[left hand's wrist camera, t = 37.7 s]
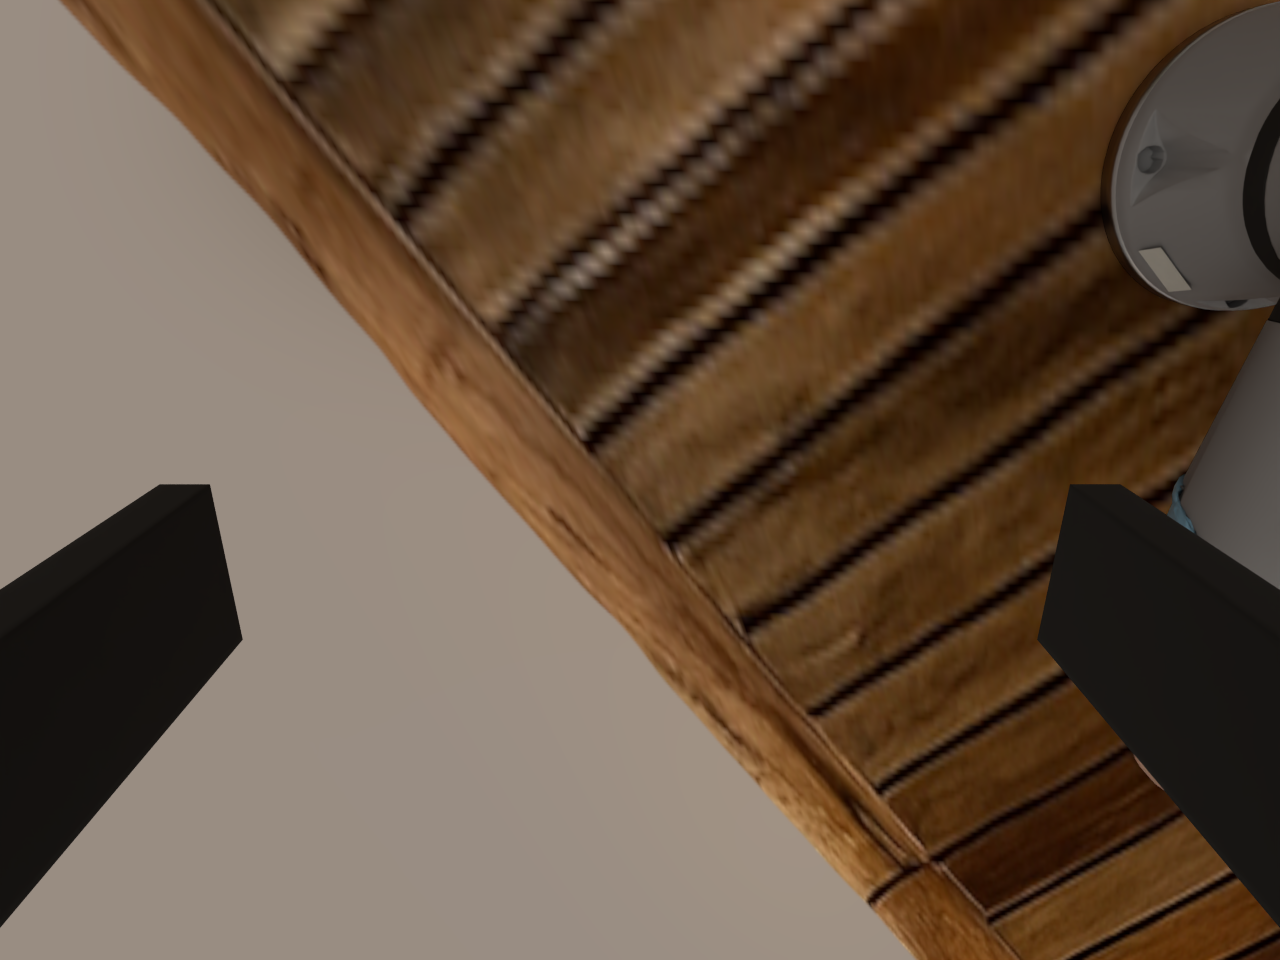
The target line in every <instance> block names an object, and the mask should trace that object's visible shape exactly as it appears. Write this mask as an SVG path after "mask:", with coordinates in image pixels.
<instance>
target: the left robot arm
mask: <svg viewBox="0 0 1280 960" xmlns="http://www.w3.org/2000/svg"><path fill="white" fill-rule="evenodd" d="M1101 209H1102V217H1103V222H1104V227H1105V231H1106V234H1107V237H1108V240H1109V243H1110V245H1111V247H1112V249H1113V252H1114V254H1115V255H1116V257H1117V259H1118V260H1119V262H1120V263H1121V265H1122V266H1123V267H1124V269H1125V270H1126V271H1127V272H1128V273H1129V274H1130V275H1131V276H1132V277H1133V278H1134V279H1135V280H1136V281H1137V282H1138V283H1139V284H1140V285H1142V286H1143V287H1144V288H1146V289H1147V290H1149V291H1151V292H1152V293H1154V294H1156V295H1158V296H1160V297H1162V298H1165V299H1167V300H1170V301H1173V302H1176V303H1180V304H1184V305H1188V306H1192V307H1197V308H1202V309H1209V310H1248V309H1256V308H1261V307H1267V306H1271V305H1275V304H1276V306H1275V307H1274V309H1273V311H1272V313H1271V315H1270V317H1269V318H1268V320H1269V321H1268V320H1267V321H1266V323H1265V325H1264V327H1263V329H1262V330H1261V332H1260V334H1259V336H1258V338H1257V340H1256V342H1255V344H1254V346H1253V347H1252V349H1251V351H1250V353H1249V355H1248V357H1247V359H1246V361H1245V363H1244V365H1243V366H1242V368H1241V370H1240V372H1239V374H1238V376H1237V378H1236V380H1235V382H1234V383H1233V385H1232V387H1231V389H1230V391H1229V393H1228V395H1227V397H1226V399H1225V400H1224V402H1223V404H1222V406H1221V408H1220V410H1219V412H1218V414H1217V416H1216V418H1215V419H1214V421H1213V423H1212V425H1211V427H1210V429H1209V431H1208V433H1207V435H1206V436H1205V438H1204V440H1203V442H1202V444H1201V446H1200V448H1199V450H1198V452H1197V453H1196V455H1195V457H1194V459H1193V461H1192V463H1191V465H1190V467H1189V469H1188V470H1187V472H1186V474H1184V475H1182V476H1180V477H1179V479H1178V481H1177V483H1176V484H1175V486H1174V489H1173V493H1172V505H1171V507H1170V510H1169V512H1168V514H1167V515H1166V514H1164V513H1163V512H1161V511H1160V510H1158V509H1157V508H1155V507H1154V506H1152V505H1151V504H1149V503H1148V502H1146V501H1145V500H1143V499H1142V498H1140V497H1139V496H1137V495H1136V494H1134V493H1133V492H1131V491H1129V490H1128V489H1126V488H1125V487H1123V486H1122V485H1120V484H1070V488H1069V492H1068V497H1067V502H1066V507H1065V511H1064V516H1063V521H1062V525H1061V530H1060V535H1059V540H1058V544H1057V549H1056V554H1055V559H1054V563H1053V568H1052V573H1051V578H1050V582H1049V587H1048V592H1047V596H1046V601H1045V606H1044V611H1043V615H1042V620H1041V625H1040V630H1039V634H1038V639H1037V640H1038V641H1039V642H1040V643H1041V645H1042V646H1043V647H1044V648H1045V649H1046V650H1047V652H1048V653H1049V654H1050V655H1051V656H1052V658H1053V659H1054V660H1055V661H1056V662H1057V664H1058V665H1059V666H1060V667H1061V668H1062V669H1063V671H1064V672H1065V673H1066V674H1067V675H1068V677H1069V678H1070V679H1071V680H1072V681H1073V683H1074V684H1075V685H1076V686H1077V687H1078V688H1079V690H1080V691H1081V692H1082V693H1083V694H1084V696H1085V697H1086V698H1087V699H1088V700H1089V702H1090V703H1091V704H1092V705H1093V706H1094V707H1095V709H1096V710H1097V711H1098V712H1099V713H1100V715H1101V716H1102V717H1103V718H1104V719H1105V721H1106V722H1107V723H1108V724H1109V725H1110V726H1111V728H1112V729H1113V730H1114V731H1115V732H1116V734H1117V735H1118V736H1119V737H1120V738H1121V740H1122V741H1123V742H1124V743H1125V744H1126V745H1127V747H1128V748H1129V749H1130V750H1131V751H1132V753H1133V754H1134V755H1135V756H1136V757H1137V759H1138V760H1139V761H1140V762H1141V763H1142V764H1143V766H1144V767H1145V768H1146V769H1147V770H1148V772H1149V773H1150V774H1151V775H1152V776H1153V778H1154V779H1155V780H1156V781H1157V782H1158V783H1159V785H1160V786H1161V787H1162V788H1163V789H1164V791H1165V792H1166V793H1167V794H1168V795H1169V797H1170V798H1171V799H1172V800H1173V801H1174V803H1175V804H1176V805H1177V806H1178V807H1179V808H1180V810H1181V811H1182V812H1183V813H1184V814H1185V816H1186V817H1187V818H1188V819H1189V820H1190V822H1191V823H1192V824H1193V825H1194V826H1195V827H1196V829H1197V830H1198V831H1199V832H1200V833H1201V835H1202V836H1203V837H1204V838H1205V839H1206V841H1207V842H1208V843H1209V844H1210V845H1211V846H1212V848H1213V849H1214V850H1215V851H1216V852H1217V854H1218V855H1219V856H1220V857H1221V858H1222V860H1223V861H1224V862H1225V863H1226V864H1227V865H1228V867H1229V868H1230V869H1231V870H1232V871H1233V873H1234V874H1235V875H1236V876H1237V877H1238V879H1239V880H1240V881H1241V882H1242V883H1243V884H1244V886H1245V887H1246V888H1247V889H1248V890H1249V892H1250V893H1251V894H1252V895H1253V896H1254V898H1255V899H1256V900H1257V901H1258V902H1259V903H1260V905H1261V906H1262V907H1263V908H1264V909H1265V911H1266V912H1267V913H1268V914H1269V915H1270V917H1271V918H1272V919H1273V920H1274V921H1275V922H1276V924H1277V925H1278V926H1279V927H1280V1H1279V2H1275V3H1271V4H1266V5H1262V6H1258V7H1254V8H1251V9H1247V10H1244V11H1241V12H1238V13H1235V14H1232V15H1229V16H1227V17H1224V18H1222V19H1220V20H1218V21H1215V22H1214V23H1212V24H1210V25H1208V26H1206V27H1204V28H1203V29H1201V30H1199V31H1198V32H1196V33H1195V34H1193V35H1192V36H1190V37H1189V38H1187V39H1186V40H1185V41H1183V42H1182V43H1181V44H1180V45H1178V46H1177V47H1176V48H1175V49H1173V50H1172V51H1171V52H1170V53H1169V54H1168V55H1167V56H1166V57H1165V58H1164V59H1162V60H1161V61H1160V63H1159V64H1158V65H1157V66H1156V67H1155V68H1154V69H1153V70H1152V71H1151V72H1150V73H1149V75H1148V76H1147V77H1146V78H1145V80H1144V81H1143V82H1142V83H1141V85H1140V86H1139V87H1138V89H1137V90H1136V92H1135V93H1134V95H1133V96H1132V98H1131V99H1130V101H1129V103H1128V104H1127V106H1126V108H1125V110H1124V111H1123V113H1122V115H1121V117H1120V119H1119V121H1118V123H1117V126H1116V128H1115V130H1114V133H1113V135H1112V138H1111V141H1110V144H1109V147H1108V150H1107V154H1106V158H1105V162H1104V168H1103V173H1102V182H1101ZM241 641H242V634H241V630H240V625H239V620H238V615H237V611H236V606H235V601H234V596H233V592H232V587H231V582H230V578H229V573H228V568H227V563H226V559H225V554H224V549H223V544H222V540H221V535H220V530H219V525H218V521H217V516H216V511H215V507H214V502H213V497H212V492H211V488H210V485H209V484H207V485H205V484H204V485H203V484H200V485H199V484H191V485H190V484H187V485H185V484H177V485H175V484H168V485H167V484H166V485H164V484H160V485H158V486H157V487H155V488H154V489H152V490H151V491H149V492H147V493H146V494H144V495H143V496H141V497H140V498H138V499H137V500H135V501H134V502H132V503H131V504H129V505H128V506H126V507H125V508H123V509H122V510H120V511H119V512H117V513H116V514H114V515H113V516H111V517H110V518H108V519H107V520H105V521H104V522H102V523H101V524H99V525H97V526H96V527H95V528H93V529H91V530H90V531H88V532H87V533H85V534H84V535H82V536H81V537H79V538H78V539H76V540H75V541H73V542H72V543H70V544H69V545H67V546H66V547H64V548H63V549H61V550H60V551H58V552H57V553H55V554H54V555H52V556H51V557H49V558H48V559H46V560H44V561H43V562H41V563H40V564H39V565H37V566H35V567H34V568H32V569H31V570H29V571H28V572H26V573H25V574H23V575H22V576H20V577H19V578H17V579H16V580H14V581H13V582H11V583H10V584H8V585H7V586H5V587H4V588H2V589H0V927H1V926H2V925H3V924H4V922H5V921H6V920H7V919H8V918H9V917H10V915H11V914H12V913H13V912H14V911H15V909H16V908H17V907H18V906H19V905H20V903H21V902H22V901H23V900H24V899H25V897H26V896H27V895H28V894H29V893H30V892H31V890H32V889H33V888H34V887H35V886H36V884H37V883H38V882H39V881H40V880H41V879H42V877H43V876H44V875H45V874H46V873H47V871H48V870H49V869H50V868H51V867H52V865H53V864H54V863H55V862H56V861H57V860H58V858H59V857H60V856H61V855H62V854H63V852H64V851H65V850H66V849H67V848H68V846H69V845H70V844H71V843H72V842H73V841H74V839H75V838H76V837H77V836H78V835H79V833H80V832H81V831H82V830H83V829H84V827H85V826H86V825H87V824H88V823H89V822H90V820H91V819H92V818H93V817H94V816H95V814H96V813H97V812H98V811H99V810H100V808H101V807H102V806H103V805H104V804H105V803H106V801H107V800H108V799H109V798H110V797H111V795H112V794H113V793H114V792H115V791H116V789H117V788H118V787H119V786H120V785H121V783H122V782H123V781H124V780H125V779H126V778H127V776H128V775H129V774H130V773H131V772H132V770H133V769H134V768H135V767H136V766H137V764H138V763H139V762H140V761H141V760H142V759H143V757H144V756H145V755H146V754H147V753H148V751H149V750H150V749H151V748H152V747H153V745H154V744H155V743H156V742H157V741H158V740H159V738H160V737H161V736H162V735H163V734H164V732H165V731H166V730H167V729H168V728H169V726H170V725H171V724H172V723H173V722H174V721H175V719H176V718H177V717H178V716H179V715H180V713H181V712H182V711H183V710H184V709H185V707H186V706H187V705H188V704H189V703H190V701H191V700H192V699H193V698H194V697H195V696H196V694H197V693H198V692H199V691H200V690H201V688H202V687H203V686H204V685H205V684H206V683H207V681H208V680H209V679H210V678H211V677H212V675H213V674H214V673H215V672H216V671H217V669H218V668H219V667H220V666H221V665H222V664H223V662H224V661H225V660H226V659H227V658H228V656H229V655H230V654H231V653H232V652H233V650H234V649H235V648H236V647H237V646H238V644H239V643H240V642H241Z"/></svg>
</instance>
